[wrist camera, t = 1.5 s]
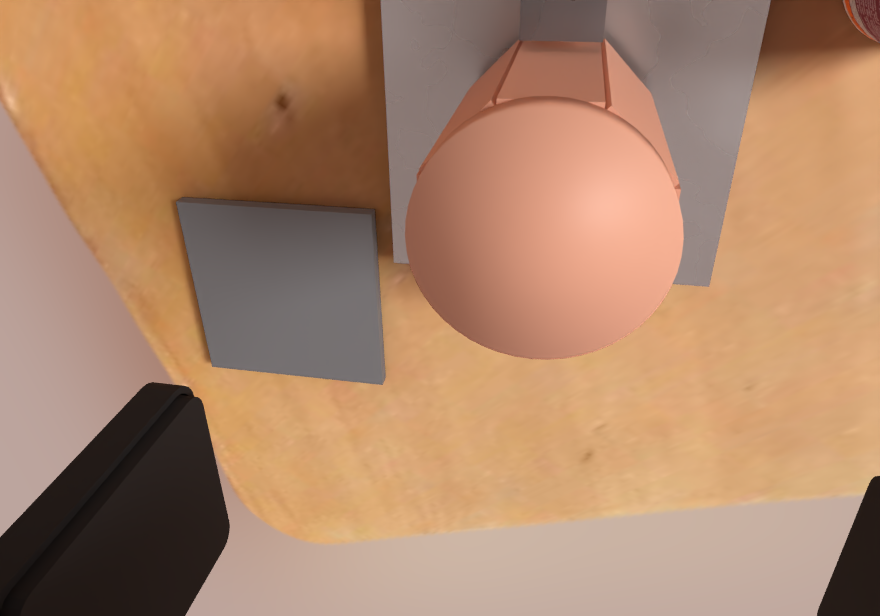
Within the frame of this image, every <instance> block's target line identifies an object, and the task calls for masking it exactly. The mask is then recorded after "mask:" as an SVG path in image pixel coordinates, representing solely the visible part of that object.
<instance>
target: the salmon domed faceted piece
mask: <svg viewBox="0 0 880 616" xmlns="http://www.w3.org/2000/svg"><path fill="white" fill-rule="evenodd" d="M416 177H417V182H416V184H415V186H414V188H413V191H412V194H411V198H410V201H409V204H408V209H407V214H406V220H405V242H406V251H407V256H408V260H409V264H410V268H411V270H412V273H413V275H414V278H415V280H416V283H417V284H418V286H419V288H420V290H421V291H422V293H423V295H424V297H425V298H426V299H427V301H428V302H429V303H430V305H431V306H432V308H433V309H434V310H435V311H436V312H437V313H438V314H439V315H440V316H441V317H442V318H443V319H444V320H445V321H446V322H447V323H448V324H449V325H451V326H452V327H453V328H454V329H455V330H457V331H458V332H460V333H461V334H463V335H464V336H466V337H467V338H469V339H470V340H472V341H474V342H476V343H478V344H480V345H482V346H484V347H487V348H489V349H492V350H494V351H497V352H500V353H504V354H508V355H511V356H516V357H522V358H529V359H547V360H548V359H563V358H569V357H575V356H581V355H584V354H588V353H591V352H594V351H597V350H600V349H602V348H605V347H607V346H609V345H612V344H613V343H615V342H617V341H619V340H621V339H622V338H624V337H626V336H627V335H629V334H630V333H631V332H633V331H634V330H635V329H637V328H638V327H639V326H641V325H642V324H643V323H644V322H645V321H646V320H647V319H648V318H649V317H650V316H651V315H652V314H653V313H654V311H655V310H656V309H657V308H658V307H659V305H660V304H661V303H662V301H663V300H664V298H665V296H666V295H667V293H668V292H669V290H670V288H671V286H672V284H673V281H674V279H675V277H676V274H677V272H678V268H679V264H680V261H681V257H682V249H683V240H684V235H683V219H682V214H681V209H680V204H679V198H680V193H681V187H680V184H679V180H678V177H677V174H676V170H675V167H674V164H673V161H672V158H671V154H670V151H669V148H668V145H667V142H666V139H665V135H664V132H663V129H662V126H661V123H660V119H659V116H658V113H657V110H656V107H655V103H654V100H653V97H652V94H651V92H650V91H649V90H648V89H647V88H646V86H645V85H644V84H643V83H642V82H641V81H640V79H639V78H638V77H637V76H636V75H635V73H634V72H633V71H632V70H631V69H630V67H629V66H628V65H627V64H626V63H625V62H624V60H623V59H622V58H621V57H620V56H619V54H618V53H617V52H616V51H615V50H614V48H613V47H612V46H611V45H610V44H609V43H608V41H607V40H606V39H603V42H563V41H519V40H518V41H517V42H516V43H515V44H514V45H513V46H512V47H511V48H510V49H509V50H508V51H507V52H506V53H505V54H504V55H503V56H501V57H500V58H499V59H498V60H497V61H496V62H495V63H494V64H493V65H492V66H491V67H490V68H489V69H488V70H487V71H486V72H485V73H484V74H483V75H482V76H481V77H480V78H479V79H478V80H477V81H476V82H475V83H474V84H473V85H472V86H471V87H470V89H469V90H468V92H467V93H466V95H465V97H464V98H463V100H462V101H461V103H460V104H459V106H458V108H457V109H456V111H455V112H454V114H453V116H452V117H451V119H450V120H449V122H448V124H447V125H446V127H445V128H444V130H443V131H442V133H441V135H440V136H439V138H438V139H437V141H436V143H435V144H434V146H433V147H432V149H431V151H430V152H429V154H428V155H427V157H426V158H425V160H424V162H423V163H422V165H421V166H420V168H419V172H418V173H417V175H416Z"/></svg>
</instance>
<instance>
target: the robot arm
mask: <svg viewBox="0 0 880 616" xmlns="http://www.w3.org/2000/svg"><path fill="white" fill-rule="evenodd" d="M229 527H230V525H229V519H228V514H227V510H226V505H225V501H224V497H223V492H222V487H221V483H220V478H219V474H218V469H217V465H216V460H215V456H214V451H213V447H212V442H211V438H210V433H209V429H208V424H207V420H206V415H205V411H204V406H203V403H202V401H201V399H200V398H198V397H194V395H193V392H192V390H191V389H190V388H189V387H186V386H181V385H172V384H163V383H154V382H152V383H148V384H146V385H145V386H144V387H143V388H142V389H140V391H139V392H138V393H137V394H136V395H135V396H134V397H133V398H132V399H131V400H130V401H129V402H128V403H127V404H126V405H125V406H124V408H123V409H122V410H121V411H120V412H119V413H118V414H117V415H116V416H115V417H114V418H113V419H112V420H111V421H110V422H109V423H108V424H107V425H106V427H104V429H103V430H102V431H101V432H100V433H99V434H98V435H97V436H96V437H95V438H94V439H93V440H92V441H91V442H90V443H89V444H88V445H87V446H86V448H85V449H84V450H83V451H82V452H81V453H80V454H79V455H78V456H77V457H76V458H75V459H74V460H73V461H72V462H71V463H70V464H69V465H68V466H67V467H66V469H65V470H64V471H63V472H62V473H61V474H60V475H59V476H58V477H57V478H56V479H55V480H54V481H53V482H52V483H51V484H50V485H49V487H47V489H46V490H45V491H44V492H43V493H42V494H41V495H40V496H39V497H38V498H37V499H36V500H35V501H34V502H33V503H32V504H31V506H29V508H28V509H27V510H26V511H25V512H24V513H23V514H22V515H21V516H20V517H19V518H18V519H17V520H16V521H15V522H14V523H13V524H12V525H11V526H10V528H9V529H8V530H7V531H6V532H5V533H4V534H3V535H2V536H1V537H0V616H185V615H186V613H187V611H188V610H189V608H190V606H191V604H192V603H193V601H194V599H195V598H196V595H197V594H198V592H199V591H200V589H201V587H202V585H203V584H204V582H205V580H206V578H207V577H208V575H209V573H210V572H211V570H212V568H213V566H214V565H215V563H216V561H217V560H218V558H219V556H220V554H221V553H222V551H223V549H224V547H225V545H226V543H227V539H228V535H229ZM817 616H880V476H875V477H874V478H873V479H872V480H871V482H870V483H869V486H868V488H867V491H866V493H865V496H864V498H863V500H862V503H861V505H860V508H859V511H858V513H857V515H856V518H855V520H854V523H853V525H852V528H851V530H850V533H849V535H848V538H847V540H846V543H845V545H844V547H843V550H842V552H841V555H840V557H839V560H838V562H837V565H836V567H835V570H834V572H833V574H832V577H831V579H830V582H829V584H828V587H827V589H826V592H825V594H824V597H823V599H822V602H821V604H820V606H819V609H818V613H817Z"/></svg>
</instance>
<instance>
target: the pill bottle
mask: <svg viewBox="0 0 880 616" xmlns="http://www.w3.org/2000/svg"><path fill="white" fill-rule="evenodd" d="M842 1H843V5H844V8H845V11H846V13H847V15H848V17H849V19H850V20H851V22H852V23H853V24H854V26H855V27H856V28H857V29H858V30H859V31H860V32H862V33H863V34H864V35H865V36H867V37H868V38H870V39H872V40H874V41H876V42H878V43H880V0H842Z"/></svg>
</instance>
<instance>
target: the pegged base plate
mask: <svg viewBox="0 0 880 616" xmlns="http://www.w3.org/2000/svg"><path fill="white" fill-rule="evenodd" d="M770 2H771V0H381V19H382V38H383V58H384V78H385V97H386V117H387V137H388V157H389V176H390V196H391V216H392V235H393V255H394V263H404V264H409V260H408V256H407V251H406V242H405V220H406V214H407V209H408V204H409V201H410V198H411V194H412V191H413V188H414V186H415V184H416V182H417V177H416V175H417V173H418V172H419V168H420V166H421V165H422V163H423V162H424V160H425V158H426V157H427V155H428V154H429V152H430V151H431V149H432V147H433V146H434V144H435V143H436V141H437V139H438V138H439V136H440V135H441V133H442V131H443V130H444V128H445V127H446V125H447V124H448V122H449V120H450V119H451V117H452V116H453V114H454V112H455V111H456V109H457V108H458V106H459V104H460V103H461V101H462V100H463V98H464V97H465V95H466V93H467V92H468V90H469V89H470V87H471V86H472V85H473V84H474V83H475V82H476V81H477V80H478V79H479V78H480V77H481V76H482V75H483V74H484V73H485V72H486V71H487V70H488V69H489V68H490V67H491V66H492V65H493V64H494V63H495V62H496V61H497V60H498V59H499V58H500V57H501V56H503V55H504V54H505V53H506V52H507V51H508V50H509V49H510V48H511V47H512V46H513V45H514V44H515V43H516V42H517V41H518V40H519V41H563V42H603V39H606V40H607V41H608V43H609V44H610V45H611V46H612V47H613V48H614V50H615V51H616V52H617V53H618V54H619V56H620V57H621V58H622V59H623V60H624V62H625V63H626V64H627V65H628V66H629V67H630V69H631V70H632V71H633V72H634V73H635V75H636V76H637V77H638V78H639V79H640V81H641V82H642V83H643V84H644V85H645V86H646V88H647V89H648V90H649V91H650V92H651V94H652V97H653V100H654V103H655V107H656V110H657V113H658V116H659V119H660V123H661V126H662V129H663V132H664V135H665V139H666V142H667V145H668V148H669V151H670V154H671V158H672V161H673V164H674V167H675V170H676V174H677V177H678V180H679V184H680V187H681V193H680V198H679V204H680V209H681V214H682V219H683V235H684V240H683V249H682V257H681V261H680V264H679V268H678V272H677V274H676V277H675V279H674V281H673V284H680V285H693V286H707V287H709V285H710V280H711V275H712V271H713V266H714V262H715V257H716V252H717V248H718V243H719V238H720V234H721V229H722V225H723V220H724V215H725V211H726V206H727V201H728V197H729V192H730V188H731V183H732V178H733V174H734V169H735V164H736V160H737V155H738V151H739V146H740V141H741V137H742V132H743V127H744V123H745V118H746V114H747V109H748V104H749V100H750V95H751V90H752V86H753V81H754V76H755V72H756V67H757V63H758V58H759V53H760V49H761V44H762V39H763V35H764V30H765V26H766V21H767V16H768V12H769V7H770Z"/></svg>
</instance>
